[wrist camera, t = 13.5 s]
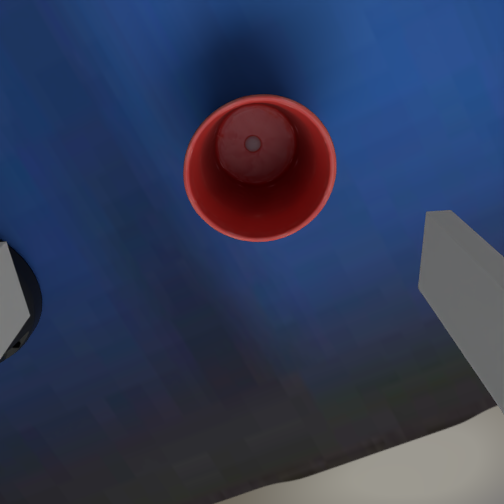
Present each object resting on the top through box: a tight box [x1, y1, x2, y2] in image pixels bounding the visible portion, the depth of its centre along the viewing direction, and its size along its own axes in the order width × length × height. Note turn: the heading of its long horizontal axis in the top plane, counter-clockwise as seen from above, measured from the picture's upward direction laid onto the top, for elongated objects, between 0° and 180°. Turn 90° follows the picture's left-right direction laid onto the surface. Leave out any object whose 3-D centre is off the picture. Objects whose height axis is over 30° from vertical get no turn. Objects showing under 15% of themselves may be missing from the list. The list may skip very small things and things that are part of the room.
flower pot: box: [183, 94, 336, 242], centre depth 38 cm, size 11×11×10 cm
